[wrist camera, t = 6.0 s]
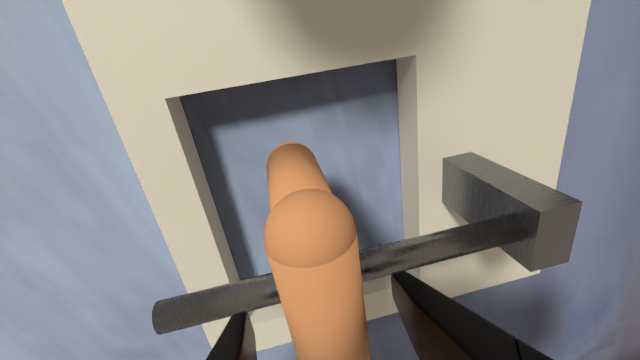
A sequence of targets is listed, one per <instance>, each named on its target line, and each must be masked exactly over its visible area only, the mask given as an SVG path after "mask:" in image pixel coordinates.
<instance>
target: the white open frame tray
mask: <svg viewBox="0 0 640 360" xmlns="http://www.w3.org/2000/svg"><path fill="white" fill-rule="evenodd" d="M62 2H63V5H64V7H65V9H66V12H67V14H68V16H69V19H70V21H71V23H72V26H73V28H74V30H75V33H76V35H77V37H78V39H79V42H80V44H81V46H82V49H83V51H84V53H85V56H86V58H87V60H88V63H89V65H90V67H91V70H92V72H93V74H94V77H95V79H96V81H97V83H98V86H99V88H100V90H101V93H102V95H103V97H104V100H105V102H106V104H107V107H108V109H109V111H110V114H111V116H112V118H113V121H114V123H115V125H116V127H117V130H118V132H119V134H120V137H121V139H122V141H123V144H124V146H125V148H126V151H127V153H128V155H129V158H130V160H131V162H132V165H133V167H134V169H135V171H136V174H137V176H138V178H139V181H140V183H141V185H142V188H143V190H144V192H145V195H146V197H147V199H148V202H149V204H150V206H151V209H152V211H153V213H154V216H155V218H156V220H157V222H158V225H159V227H160V229H161V232H162V234H163V236H164V239H165V241H166V243H167V246H168V248H169V250H170V253H171V255H172V257H173V260H174V262H175V264H176V266H177V269H178V271H179V273H180V276H181V278H182V280H183V283H184V285H185V287H186V290H187V292H188V293H191V292H195V291H200V290H204V289H208V288H212V287H216V286H220V285H224V284H228V283H232V282H236V281H240V279H239V276H238V273H237V270H236V267H235V264H234V261H233V258H232V255H231V252H230V249H229V246H228V242H227V239H226V236H225V233H224V230H223V227H222V224H221V221H220V218H219V215H218V212H217V209H216V206H215V203H214V200H213V197H212V194H211V191H210V188H209V185H208V182H207V179H206V176H205V173H204V170H203V167H202V164H201V161H200V158H199V155H198V152H197V149H196V146H195V143H194V140H193V137H192V134H191V131H190V128H189V125H188V122H187V119H186V116H185V113H184V110H183V107H182V104H181V101H180V98H179V96H183V95H189V94H195V93H201V92H206V91H212V90H218V89H224V88H229V87H235V86H241V85H247V84H252V83H258V82H264V81H270V80H275V79H281V78H287V77H293V76H298V75H304V74H310V73H316V72H321V71H327V70H333V69H338V68H344V67H350V66H356V65H361V64H367V63H373V62H379V61H384V60H390V59H396V67H397V90H398V113H399V136H400V159H401V182H402V205H403V228H404V240H405V239H409V238H414V237H418V236H422V235H426V234H430V233H434V232H438V231H442V230H446V229H450V228H454V227H458V226H462V225H466V224H469V223H468V222H467V221H465V220H464V219H463V218H462V217H460V216H459V215H458V214H457V213H455V212H454V211H453V210H451V209H450V208H449V207H448V206H446V205H445V204H444V203H443V202H442V168H443V158H445V157H450V156H454V155H459V154H464V153H468V152H473V153H475V154H477V155H479V156H482V157H484V158H486V159H488V160H491V161H493V162H495V163H497V164H499V165H502V166H504V167H506V168H508V169H511V170H513V171H515V172H517V173H519V174H522V175H524V176H526V177H528V178H531V179H533V180H535V181H537V182H539V183H542V184H544V185H546V186H548V187H551V188H553V189H555V190H556V185H557V179H558V174H559V169H560V163H561V158H562V153H563V147H564V142H565V137H566V131H567V126H568V121H569V115H570V110H571V105H572V99H573V94H574V89H575V83H576V78H577V73H578V67H579V62H580V57H581V51H582V46H583V41H584V35H585V30H586V25H587V19H588V14H589V9H590V3H591V0H62ZM540 270H541V269H540ZM540 270H537V271H533V272H530V271H528V270H527V269H526V268H525V267H523V266H522V265H521V264H519V263H518V262H517V261H516V260H514V259H513V258H512V257H511V256H509V255H508V254H507V253H506V252H504V251H503V250H502V249H501V248H499V247H496V248H492V249H488V250H484V251H480V252H476V253H473V254H469V255H465V256H461V257H457V258H453V259H450V260H446V261H442V262H438V263H434V264H430V265H427V266H423V267H419V268H415V269H411V270H407V271H406V272H408V273H410V274H411V275H413V276H415V277H416V278H418V279H420V280H421V281H423V282H425V283H426V284H428V285H429V286H431V287H433V288H434V289H436V290H438V291H439V292H441V293H443V294H444V295H446V296H448V297H449V298H452V297H455V296H459V295H463V294H466V293H470V292H474V291H477V290H481V289H484V288H488V287H492V286H495V285H499V284H502V283H506V282H510V281H513V280H517V279H521V278H524V277H528V276H531V275H535V274H539V273H540ZM362 285H363V295H364V304H365V313H366V321H369V320H372V319H376V318H379V317H383V316H387V315H390V314H394V313H397V312H398V309H397V307H396V305H395V302H394V300H393V296H392V287H391V275H388V276H384V277H380V278H377V279H373V280H369V281H365V282H362ZM248 314H249V317H250V320H251V323H252V326H253V329H254V333H255V340H256V351H260V350H264V349H267V348H271V347H274V346H278V345H282V344H285V343H289V342H292V338H291V334H290V331H289V327H288V324H287V321H286V317H285V314H284V310H283V307H282V304H277V305H273V306H269V307H265V308H261V309H258V310H254V311H250V312H248ZM230 318H231V317H227V318H223V319H219V320H215V321H211V322H208V323H204V324H202V327H203V329H204V331H205V334H206V336H207V338H208V341H209V343H210V345H211V348H213V347H214V345H215V343H216V342H217V340H218V338H219V337H220V335H221V333H222V331H223V330H224V328H225V326H226V325H227V323H228V321H229V319H230Z"/></svg>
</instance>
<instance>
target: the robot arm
mask: <svg viewBox="0 0 640 360" xmlns="http://www.w3.org/2000/svg"><path fill="white" fill-rule="evenodd" d="M391 287H392V296H393V300H394V302H395V305H396V307H397V309H398V312H399V314H400V317H401V319H402V321H403V324H404V326H405V328H406V331H407V333H408V335H409V338H410V340H411V342H412V345H413V347H414V349H415V351H416V353H417V355H418V357H419V359H420V360H553V359H551V358H550V357H548V356H546V355H544V354H543V353H541V352H539V351H537V350H536V349H534V348H532V347H531V346H529V345H527V344H526V343H524V342H522V341H521V340H519V339H515V337H514V336H512V335H511V334H509V333H507V332H506V331H504V330H502V329H501V328H499V327H497V326H496V325H494V324H492V323H491V322H489V321H487V320H486V319H484V318H482V317H481V316H479V315H477V314H476V313H474V312H472V311H471V310H469V309H468V308H466V307H464V306H463V305H461V304H459V303H458V302H456V301H454V300H453V299H451V298H449V297H448V296H446V295H444V294H443V293H441V292H439V291H438V290H436V289H434V288H433V287H431V286H429V285H428V284H426V283H425V282H423V281H421V280H420V279H418V278H416V277H415V276H413V275H411V274H410V273H408V272H406V271H404V270H402V271H398V272H394V273H392V274H391ZM206 360H257V355H256V340H255V333H254V329H253V326H252V323H251V320H250V317H249V314H248V312H246V311H243V312H239V313H235V314H233V315H232V316H231V318H230V319H229V321H228V323H227V325H226V326H225V328H224V330H223V331H222V333H221V335H220V337H219V338H218V340H217V342H216V343H215V345H214V347H213V348H212V350H211V352H210V354H209V355H208V357H207V359H206Z"/></svg>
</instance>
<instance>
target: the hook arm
mask: <svg viewBox="0 0 640 360" xmlns="http://www.w3.org/2000/svg"><path fill="white" fill-rule="evenodd" d="M442 202H443V203H444V204H445V205H446V206H448V207H449V208H450V209H451V210H453V211H454V212H455V213H457V214H458V215H459V216H460V217H462V218H463V219H464V220H465V221H467V222H468V223H469V224H466V225H462V226H458V227H454V228H450V229H446V230H442V231H438V232H434V233H430V234H426V235H422V236H418V237H414V238H409V239H405V240H401V241H397V242H393V243H389V244H385V245H381V246H377V247H373V248H369V249H365V250H361V251H359V258H360V267H361V276H362V282H365V281H369V280H373V279H377V278H380V277H384V276H388V275H391V274H392V273H394V272H398V271H402V270H404V271H407V270H411V269H415V268H419V267H423V266H427V265H430V264H434V263H438V262H442V261H446V260H450V259H453V258H457V257H461V256H465V255H469V254H473V253H476V252H480V251H484V250H488V249H492V248H496V247H499V248H501V249H502V250H503V251H504V252H506V253H507V254H508V255H509V256H511V257H512V258H513V259H514V260H516V261H517V262H518V263H519V264H521V265H522V266H523V267H525V268H526V269H527V270H528V271H530V272H533V271H537V270H540V269H544V268H547V267H551V266H555V265H558V264H562V263H566V262H569V258H570V253H571V249H572V245H573V240H574V236H575V232H576V227H577V223H578V219H579V215H580V210H581V206H582V201H579V200H577V199H575V198H573V197H571V196H568V195H566V194H564V193H562V192H559V191H557V190H555V189H553V188H551V187H548V186H546V185H544V184H542V183H539V182H537V181H535V180H533V179H531V178H528V177H526V176H524V175H522V174H519V173H517V172H515V171H513V170H511V169H508V168H506V167H504V166H502V165H499V164H497V163H495V162H493V161H491V160H488V159H486V158H484V157H482V156H479V155H477V154H475V153H473V152H468V153H464V154H459V155H454V156H450V157H445V158H443V168H442ZM277 304H281V300H280V297H279V293H278V290H277V286H276V283H275V280H274V276H273V273H268V274H264V275H260V276H256V277H252V278H248V279H244V280H240V281H236V282H232V283H228V284H224V285H220V286H216V287H212V288H208V289H204V290H200V291H195V292H191V293H187V294H183V295H179V296H175V297H171V298H167V299H163V300H159V301H157V302H156V303H155V305H154V307H153V311H152V322H153V327H154V330H155V331H156V333H157V334H159V335H161V334H165V333H169V332H173V331H177V330H181V329H185V328H188V327H192V326H196V325H200V324H204V323H208V322H211V321H215V320H219V319H223V318H227V317H231V316H232V315H233V314H235V313H239V312H243V311H246V312H250V311H254V310H258V309H261V308H265V307H269V306H273V305H277Z"/></svg>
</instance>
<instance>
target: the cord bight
mask: <svg viewBox="0 0 640 360" xmlns="http://www.w3.org/2000/svg"><path fill="white" fill-rule="evenodd" d="M267 179H268V191H269V203H270V214H269V216H268V218H267V221H266V224H265V230H264V242H265V249H266V252H267V256H268V259H269V263H270V266H271V269H272V273H273V276H274V280H275V283H276V286H277V290H278V293H279V297H280V300H281V304H282V307H283V310H284V314H285V317H286V321H287V324H288V327H289V331H290V334H291V338H292V341H293V345H294V348H295V351H296V355H297V358H298V360H371V359H370V350H369V340H368V331H367V322H366V313H365V304H364V295H363V285H362V276H361V267H360V258H359V249H358V240H357V231H356V226H355V222H354V219H353V216H352V214H351V212H350V210H349V209H348V208H347V206H346V205H345V204H344V203H343V202H342V201H341V200H340V199H339V198H337V197H336V196H334V195H333V194H332V192H331V189H330V187H329V185H328V183H327V181H326V179H325V177H324V175H323V173H322V171H321V169H320V167H319V165H318V162H317V160H316V158H315V156H314V155H313V153H312V152H311V151H310V149H309V148H307V147H306V146H304V145H302V144H300V143H296V142H287V143H283V144H281V145H279V146H277V147H276V148H275V149H274V150H273V151H272V152H271V154H270V155H269V157H268V161H267Z"/></svg>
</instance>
